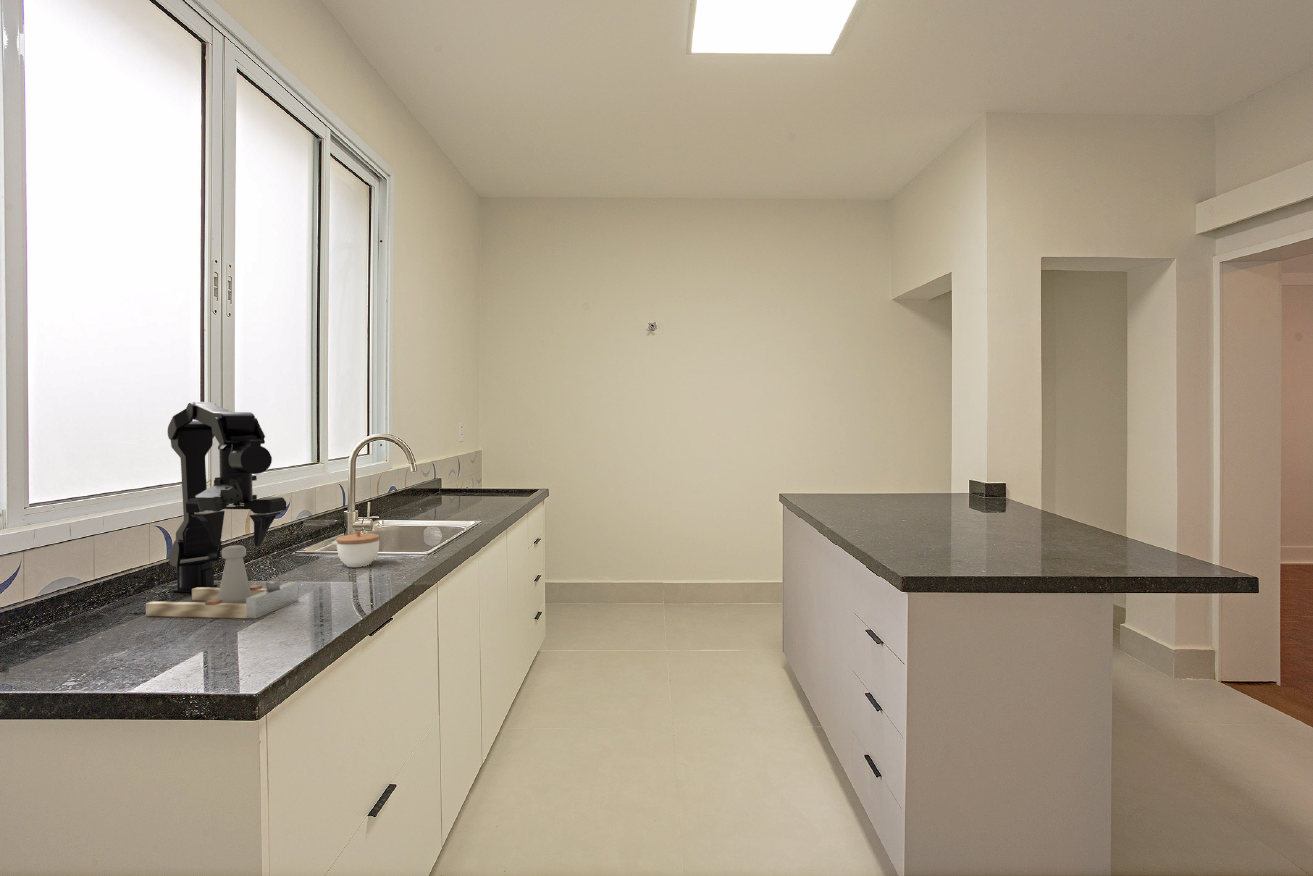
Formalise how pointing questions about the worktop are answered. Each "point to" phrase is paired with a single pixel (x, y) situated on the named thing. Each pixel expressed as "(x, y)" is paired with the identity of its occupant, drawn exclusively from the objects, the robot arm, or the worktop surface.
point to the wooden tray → (253, 608)
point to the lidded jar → (358, 549)
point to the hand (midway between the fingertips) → (237, 545)
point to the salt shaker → (234, 576)
